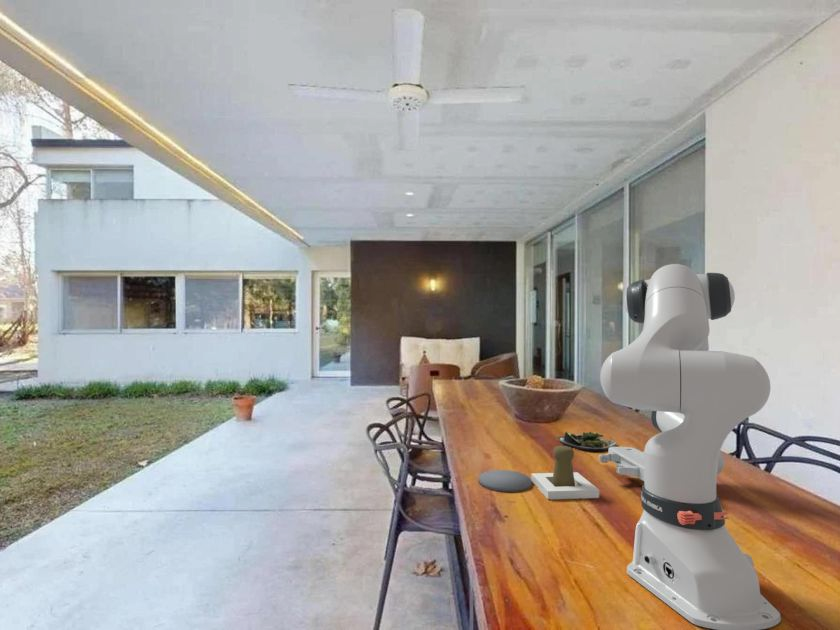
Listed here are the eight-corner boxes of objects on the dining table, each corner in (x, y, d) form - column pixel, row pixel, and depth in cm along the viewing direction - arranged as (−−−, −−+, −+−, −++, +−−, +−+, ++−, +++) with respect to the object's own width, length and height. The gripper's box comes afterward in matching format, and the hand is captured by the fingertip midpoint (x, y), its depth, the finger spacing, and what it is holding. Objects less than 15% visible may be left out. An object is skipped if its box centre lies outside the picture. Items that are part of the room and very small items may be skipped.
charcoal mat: (538, 491, 119) (538, 487, 119) (484, 492, 118) (484, 488, 118) (522, 472, 133) (522, 469, 133) (474, 474, 132) (474, 470, 132)
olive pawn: (577, 494, 117) (577, 450, 117) (552, 492, 119) (552, 449, 119) (574, 485, 123) (574, 444, 123) (550, 484, 124) (550, 443, 125)
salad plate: (583, 435, 177) (583, 423, 177) (627, 445, 162) (627, 432, 162) (550, 443, 166) (550, 430, 166) (595, 455, 151) (595, 441, 151)
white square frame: (599, 497, 115) (599, 489, 115) (547, 499, 114) (547, 491, 114) (577, 479, 128) (577, 472, 128) (531, 480, 127) (531, 473, 127)
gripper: (637, 440, 133) (590, 441, 132) (683, 462, 113) (628, 464, 112) (637, 462, 133) (590, 463, 132) (683, 488, 113) (628, 490, 112)
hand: (608, 464), depth 122 cm, fingers open, 8 cm apart
